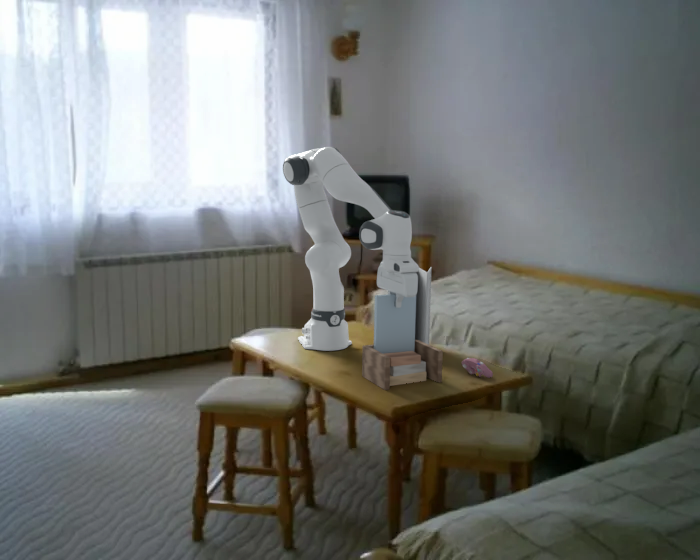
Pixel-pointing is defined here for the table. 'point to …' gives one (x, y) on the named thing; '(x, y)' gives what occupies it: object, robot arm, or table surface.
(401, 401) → the table surface
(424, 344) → the rack
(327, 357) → the table surface
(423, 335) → the brochure
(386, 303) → the sheet
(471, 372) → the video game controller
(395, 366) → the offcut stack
